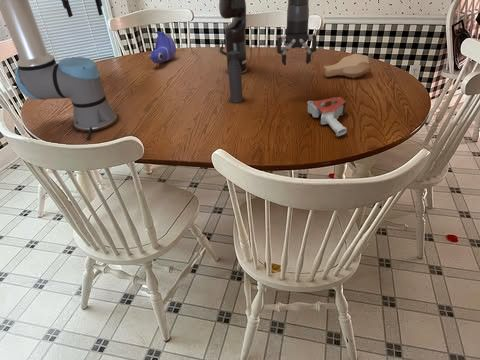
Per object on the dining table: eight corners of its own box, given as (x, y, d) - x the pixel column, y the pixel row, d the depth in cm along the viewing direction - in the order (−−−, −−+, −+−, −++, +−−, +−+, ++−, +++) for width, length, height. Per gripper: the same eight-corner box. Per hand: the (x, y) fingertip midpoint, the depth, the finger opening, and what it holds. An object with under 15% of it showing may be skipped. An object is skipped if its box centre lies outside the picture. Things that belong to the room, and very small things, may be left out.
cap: (241, 57, 134) (241, 51, 133) (236, 60, 131) (236, 54, 130) (231, 56, 136) (231, 50, 134) (226, 59, 133) (225, 53, 131)
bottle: (244, 98, 144) (242, 52, 133) (239, 103, 141) (236, 56, 130) (233, 97, 146) (230, 51, 135) (228, 101, 142) (224, 55, 131)
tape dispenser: (341, 143, 115) (361, 114, 127) (344, 129, 111) (364, 101, 124) (292, 129, 122) (315, 103, 135) (293, 115, 119) (316, 90, 131)
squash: (372, 78, 155) (374, 59, 148) (326, 86, 156) (326, 68, 150) (365, 66, 162) (367, 47, 156) (321, 74, 164) (321, 56, 157)
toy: (164, 63, 199) (144, 69, 176) (159, 31, 192) (138, 32, 170) (181, 62, 196) (162, 68, 174) (177, 30, 190) (157, 31, 167)
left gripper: (102, -44, 147) (116, 12, 160) (44, -40, 148) (61, 15, 160) (96, -42, 141) (111, 15, 153) (35, -38, 142) (54, 19, 154)
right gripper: (316, 14, 128) (313, 59, 137) (276, 16, 128) (276, 61, 138) (320, 19, 121) (316, 66, 131) (278, 21, 122) (277, 68, 132)
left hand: (85, 15), depth 157 cm, fingers open, 13 cm apart
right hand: (295, 63), depth 134 cm, fingers open, 8 cm apart
